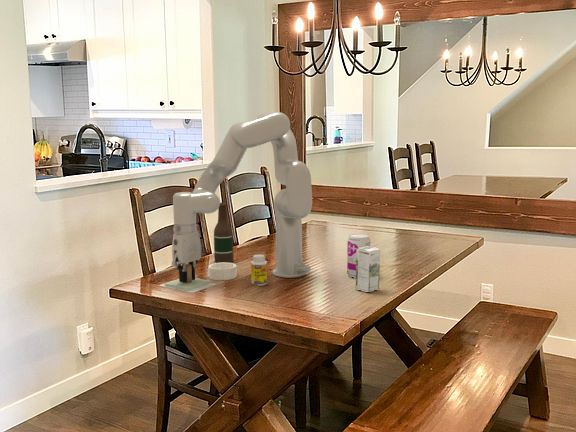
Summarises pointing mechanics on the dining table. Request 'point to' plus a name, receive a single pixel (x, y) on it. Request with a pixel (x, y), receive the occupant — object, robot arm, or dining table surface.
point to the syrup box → (367, 268)
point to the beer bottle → (223, 237)
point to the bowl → (222, 271)
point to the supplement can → (352, 246)
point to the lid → (190, 283)
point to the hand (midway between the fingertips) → (187, 280)
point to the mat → (193, 289)
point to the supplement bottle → (259, 270)
